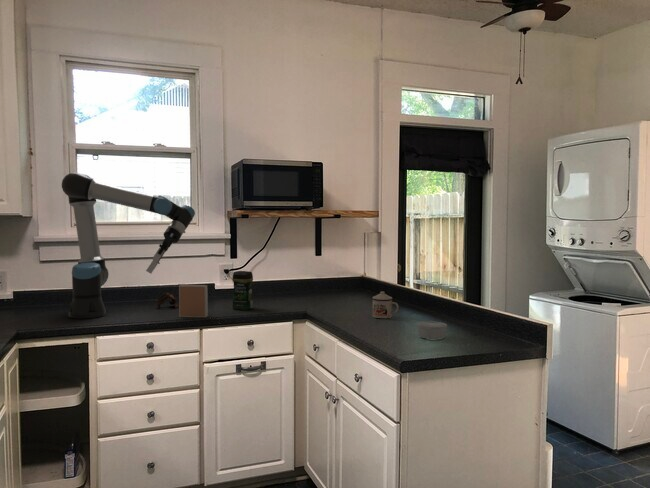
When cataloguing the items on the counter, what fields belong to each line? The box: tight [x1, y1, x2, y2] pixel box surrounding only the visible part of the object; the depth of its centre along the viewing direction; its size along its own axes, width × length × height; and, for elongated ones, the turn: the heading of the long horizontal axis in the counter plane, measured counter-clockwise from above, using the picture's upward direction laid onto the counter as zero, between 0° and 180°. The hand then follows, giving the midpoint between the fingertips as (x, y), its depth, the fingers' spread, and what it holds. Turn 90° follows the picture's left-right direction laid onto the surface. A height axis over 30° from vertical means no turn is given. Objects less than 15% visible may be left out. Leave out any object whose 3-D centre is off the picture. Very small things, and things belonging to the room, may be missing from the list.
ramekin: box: [416, 320, 448, 339], centre depth 190 cm, size 11×11×5 cm
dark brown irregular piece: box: [155, 292, 179, 309], centre depth 251 cm, size 12×10×8 cm
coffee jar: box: [231, 270, 254, 311], centre depth 247 cm, size 10×8×19 cm
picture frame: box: [178, 284, 209, 318], centre depth 228 cm, size 12×3×14 cm, turn 87°
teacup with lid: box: [371, 291, 399, 319], centre depth 226 cm, size 12×9×12 cm
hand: (151, 266), depth 230 cm, fingers open, 13 cm apart
